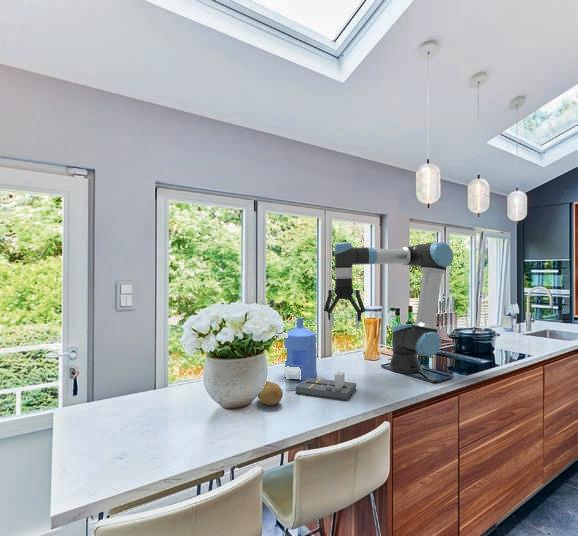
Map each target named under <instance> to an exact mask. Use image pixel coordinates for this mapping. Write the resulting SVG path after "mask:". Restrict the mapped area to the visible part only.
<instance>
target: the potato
mask: <svg viewBox="0 0 578 536" xmlns="http://www.w3.org/2000/svg"><path fill="white" fill-rule="evenodd" d="M283 393H284V392H283V390H282V387H281V386H280V385H279V384H278V383H276V382H272V381H267V380H266V384H265V385H264V388H263V389H262V391H261V392H260V393H259V394H258V396H257V395H256V396H257V399H258V400H260V402H261V403H262V404H264V405H268V406H274V405H277V404H278V403H280V401H282V399H283V395H284V394H283Z"/></svg>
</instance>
